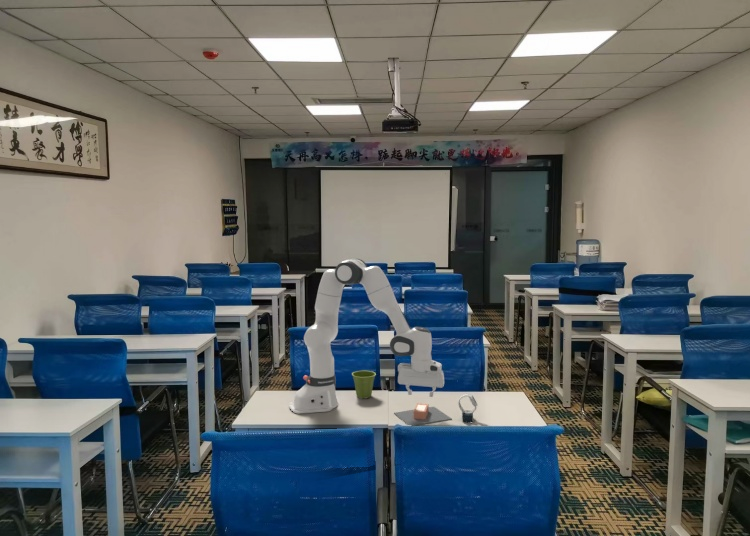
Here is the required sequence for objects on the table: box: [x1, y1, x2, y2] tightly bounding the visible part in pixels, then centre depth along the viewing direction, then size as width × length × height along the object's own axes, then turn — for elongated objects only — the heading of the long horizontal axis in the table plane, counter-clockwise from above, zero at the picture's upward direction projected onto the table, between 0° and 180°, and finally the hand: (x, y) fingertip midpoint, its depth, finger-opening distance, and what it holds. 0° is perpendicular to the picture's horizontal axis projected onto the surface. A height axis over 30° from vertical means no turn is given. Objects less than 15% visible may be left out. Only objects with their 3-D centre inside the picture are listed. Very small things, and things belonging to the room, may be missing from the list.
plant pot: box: [351, 370, 377, 399], centre depth 245 cm, size 12×12×11 cm
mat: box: [393, 406, 452, 426], centre depth 218 cm, size 20×16×1 cm
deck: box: [413, 402, 429, 419], centre depth 219 cm, size 3×5×10 cm
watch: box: [457, 393, 478, 423], centre depth 213 cm, size 6×8×11 cm
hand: (420, 395), depth 220 cm, fingers open, 8 cm apart
